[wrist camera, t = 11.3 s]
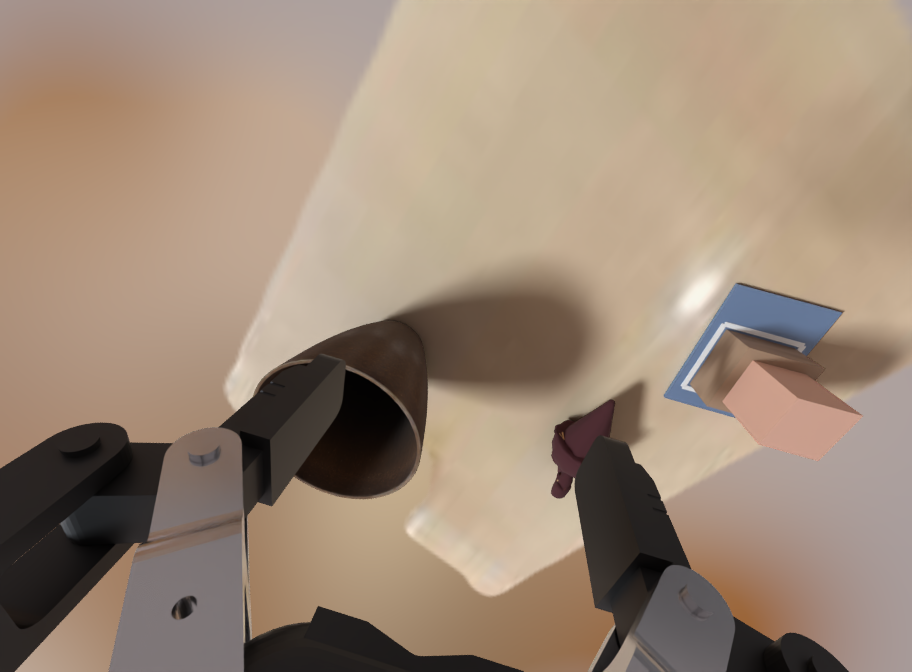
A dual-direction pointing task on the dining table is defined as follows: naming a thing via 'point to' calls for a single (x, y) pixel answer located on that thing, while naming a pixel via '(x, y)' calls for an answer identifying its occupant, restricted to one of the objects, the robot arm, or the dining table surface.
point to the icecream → (577, 444)
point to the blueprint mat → (754, 332)
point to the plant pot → (369, 412)
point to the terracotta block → (789, 411)
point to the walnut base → (744, 365)
